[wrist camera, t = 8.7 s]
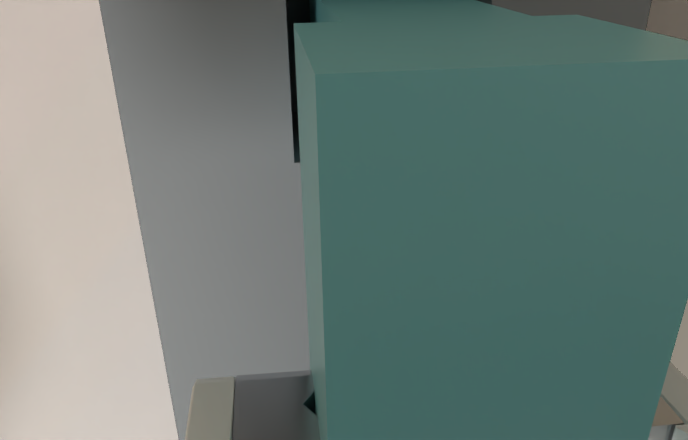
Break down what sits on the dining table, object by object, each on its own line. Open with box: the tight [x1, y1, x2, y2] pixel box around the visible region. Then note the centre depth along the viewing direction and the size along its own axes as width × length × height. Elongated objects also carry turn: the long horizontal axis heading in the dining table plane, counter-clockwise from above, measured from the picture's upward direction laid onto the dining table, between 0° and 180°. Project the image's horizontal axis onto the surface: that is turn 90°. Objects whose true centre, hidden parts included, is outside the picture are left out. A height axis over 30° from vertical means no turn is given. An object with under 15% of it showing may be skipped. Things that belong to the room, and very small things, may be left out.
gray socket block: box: [99, 0, 652, 440], centre depth 12 cm, size 16×8×4 cm, turn 1°
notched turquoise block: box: [294, 0, 688, 440], centre depth 9 cm, size 10×3×7 cm, turn 1°
